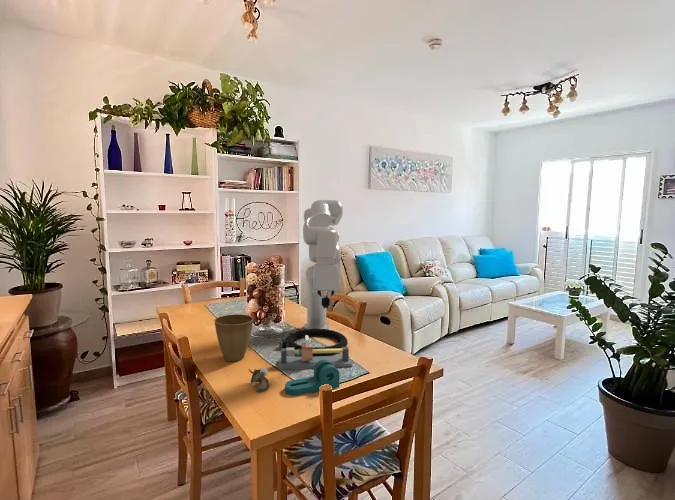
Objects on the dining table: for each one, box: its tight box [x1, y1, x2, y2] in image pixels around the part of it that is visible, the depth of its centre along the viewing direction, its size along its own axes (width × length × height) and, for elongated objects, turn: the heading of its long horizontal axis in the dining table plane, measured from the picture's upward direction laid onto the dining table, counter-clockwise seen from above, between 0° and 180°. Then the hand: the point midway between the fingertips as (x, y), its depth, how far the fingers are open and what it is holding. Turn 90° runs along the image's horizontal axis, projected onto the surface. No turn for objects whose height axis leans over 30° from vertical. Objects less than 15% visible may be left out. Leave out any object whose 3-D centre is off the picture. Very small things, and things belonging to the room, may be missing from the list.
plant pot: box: [213, 313, 254, 362], centre depth 150 cm, size 15×15×16 cm
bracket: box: [284, 359, 341, 396], centre depth 127 cm, size 18×7×8 cm, turn 114°
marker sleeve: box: [300, 335, 313, 361], centre depth 146 cm, size 5×4×8 cm
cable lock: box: [279, 328, 348, 357], centre depth 167 cm, size 28×4×30 cm
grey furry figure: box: [248, 366, 270, 394], centre depth 128 cm, size 8×7×9 cm
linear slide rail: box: [278, 346, 353, 370], centre depth 147 cm, size 8×28×6 cm, turn 98°
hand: (325, 307), depth 147 cm, fingers closed
